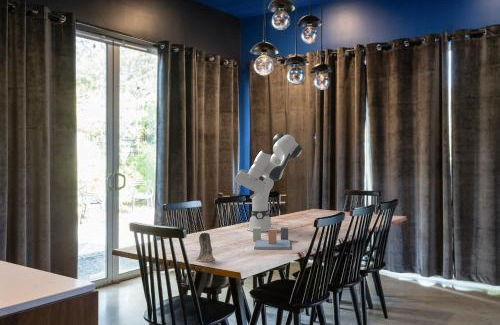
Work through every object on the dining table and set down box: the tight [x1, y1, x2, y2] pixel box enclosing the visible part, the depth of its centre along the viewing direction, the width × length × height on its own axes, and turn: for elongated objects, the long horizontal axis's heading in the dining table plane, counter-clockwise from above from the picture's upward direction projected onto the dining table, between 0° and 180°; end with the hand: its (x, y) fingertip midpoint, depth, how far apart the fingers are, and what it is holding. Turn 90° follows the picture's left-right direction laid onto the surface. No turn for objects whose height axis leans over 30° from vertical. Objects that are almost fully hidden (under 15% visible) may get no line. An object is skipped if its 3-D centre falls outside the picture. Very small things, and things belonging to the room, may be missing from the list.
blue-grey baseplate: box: [253, 239, 291, 250], centre depth 256 cm, size 20×20×2 cm
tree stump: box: [195, 232, 216, 263], centre depth 224 cm, size 10×10×13 cm
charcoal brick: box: [280, 226, 289, 240], centre depth 270 cm, size 4×4×8 cm
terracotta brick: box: [267, 228, 278, 244], centre depth 256 cm, size 4×4×8 cm
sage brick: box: [252, 227, 262, 242], centre depth 272 cm, size 4×4×8 cm
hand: (244, 194), depth 268 cm, fingers open, 8 cm apart
